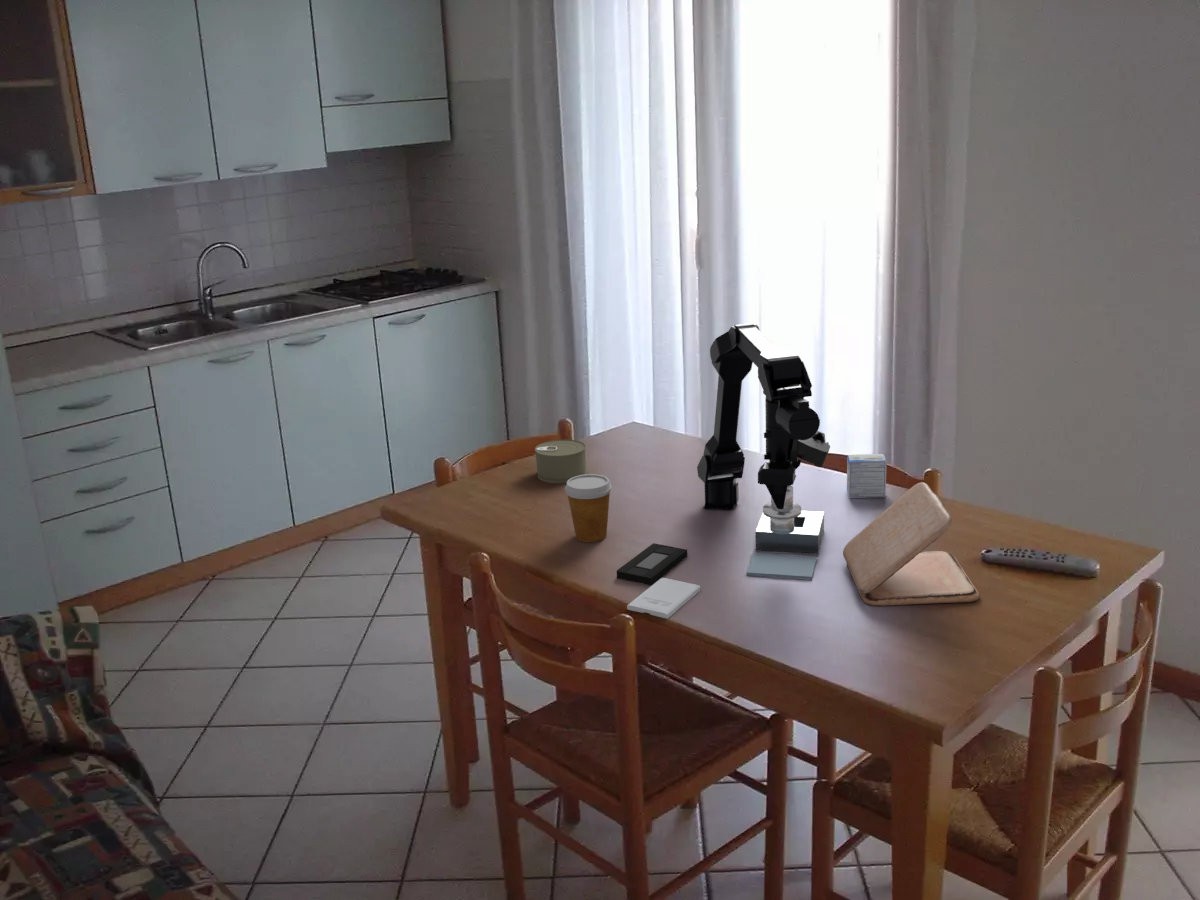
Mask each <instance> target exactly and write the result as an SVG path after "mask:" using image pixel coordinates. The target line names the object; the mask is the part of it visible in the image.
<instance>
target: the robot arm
mask: <svg viewBox="0 0 1200 900" xmlns="http://www.w3.org/2000/svg"><path fill="white" fill-rule="evenodd" d="M759 327H760V326H758V324H756V323H753V322H752V323H751V322H750V323H741V324H734V325H733V326H731V327H730V328H729V329H728V330H727V331H726V332H725V333H722V334H721V335H719V336H718V337H716V338H715V339H714V341H713V342H712V344H711V345H710V349H709V357H710V361H711V364H712V366H713V368H714V370H715V371H716V373H717V376H718V377H717V379H718V380H717V391H716V392H717V393H716V401H715V402H716V405H715V416H714V426H713V435H712V436H711V437H710V439H708V440H707V442H706V443H705V444H704V451H703V455H702V456H701V458H700V460H699V462H698V464H697V467H696V471H697V477H698V478H699V480H701V481H702V482H703V483H704V504H703V507H702V508H703V509H704V510H705V509H707V510H709V509H711V510H727V511H733V510H734V509H735V506H736V505H738V503H739V497H740V496H739V493H740V492H739V483H738V482H736V480H737V479H743V475H744V470H745V469H744V468H745V461H746V460H745V459H746V458H745V453H744V452H743V449H742V448H741V447H740V445H739V443H738V441H737V435H738V426H739V415H740V406H741V405H740V404H741V397H742V395H741V394H742V386H743V380H744V379H745V378H746V377H747V376H748V375H749V373H751V371H752V368H753V364H754V365H755V366H756V367H757V378H758V381H759V383H760V386H761V388H762V393H763V394H764V396H765V404H764V405H765V430H764V432H763V439H765V452H764V454H763V460H765V462H764V463H763V464H762V465H761V466H760V467H759V470H758V472H757V484H760V485H764V486H765V487H766V489H767V490H768V493H769V495H770V498H771V497H772V499H773V501H774V503H775V505H776V507H777V509H783V508H784V503H785V498H786V493H787V488H788V486H790V485H791V486H793V485H794V482H795V480H796V478H797V474H796V470H797V469H798V468H799V467H800V466H801V464H802V461H805V462H808V463H811V464H813V465H814V466H815V467H817V468H823V467H824V465H825V463H826V459H827V458H828V454H829V452H830V449H831V445H830V444H829V441H826V434H825V433H824V432H822V431H819V428H820V424H821V419H820V417H819V415H818V413H817V412H816V411H815V410H814V409H813V408H811V407H810V401H809V400H808V399H805V398H806V397H812V395H813V393H812V387H813V385H812V382H811V378H810V376H809V372H808V371H807V368H806V366H805V363H804V361H803V360H802V359H801V357H800V356H799V355H798V354H796V353H795V352H793V351H790V350H785V349H780V348H778V347H777V346H776V345H775V344H774V343H773V342H772V341H771V340H770V339H769V338H768V337H766V335H765V334H763V332H761V331H760V328H759ZM799 386H800V387H799ZM792 387H793V388H792ZM766 460H768V461H767V462H766Z"/></svg>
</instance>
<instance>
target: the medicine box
mask: <svg viewBox="0 0 1200 900" xmlns="http://www.w3.org/2000/svg"><path fill="white" fill-rule="evenodd" d="M846 461H847V462H846V492H847V496H848V498H849V499H868V498H872V499H874V498H886V495H887V494H886V492H887V462H888V461H887V459H886V456H885V455H884V454H883V453H879V454H878V453H877V454H876V453H867V454H866V453H865V454H863V453H862V454H848V455H847V456H846Z"/></svg>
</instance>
